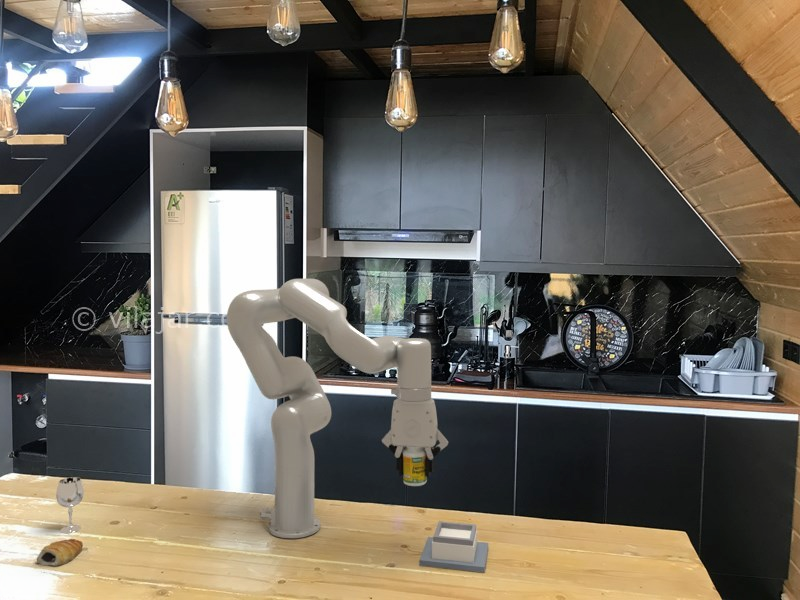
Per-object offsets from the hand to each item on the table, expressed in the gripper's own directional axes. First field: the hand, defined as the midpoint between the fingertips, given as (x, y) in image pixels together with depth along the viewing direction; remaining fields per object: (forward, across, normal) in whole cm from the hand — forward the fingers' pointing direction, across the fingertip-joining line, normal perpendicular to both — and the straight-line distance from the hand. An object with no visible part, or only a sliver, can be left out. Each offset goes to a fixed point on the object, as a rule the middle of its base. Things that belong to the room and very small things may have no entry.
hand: (415, 473), depth 141 cm
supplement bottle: (+2, 0, 0) cm, 2 cm away
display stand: (+18, +9, 0) cm, 20 cm away
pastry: (+17, -75, -20) cm, 79 cm away
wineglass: (+16, -83, -7) cm, 85 cm away
